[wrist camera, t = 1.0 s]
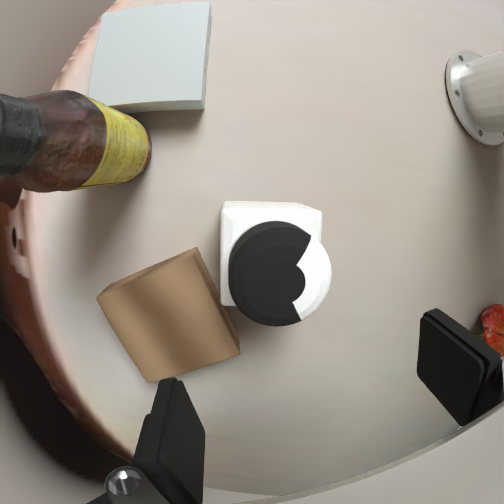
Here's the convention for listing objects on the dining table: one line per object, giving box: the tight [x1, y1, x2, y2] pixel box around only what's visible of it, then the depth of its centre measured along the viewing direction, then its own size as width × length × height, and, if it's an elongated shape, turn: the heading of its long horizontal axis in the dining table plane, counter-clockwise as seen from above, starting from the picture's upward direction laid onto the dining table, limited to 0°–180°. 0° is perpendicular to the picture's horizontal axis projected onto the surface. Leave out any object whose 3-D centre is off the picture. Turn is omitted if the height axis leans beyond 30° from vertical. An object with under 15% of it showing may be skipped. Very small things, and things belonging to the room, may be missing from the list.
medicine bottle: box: [220, 201, 331, 326], centre depth 22 cm, size 7×7×12 cm
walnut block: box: [96, 247, 240, 383], centre depth 28 cm, size 10×10×4 cm
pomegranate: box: [476, 304, 504, 357], centre depth 30 cm, size 7×7×10 cm
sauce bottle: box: [0, 90, 152, 193], centre depth 16 cm, size 6×6×20 cm
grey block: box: [88, 2, 212, 114], centre depth 22 cm, size 10×10×4 cm
